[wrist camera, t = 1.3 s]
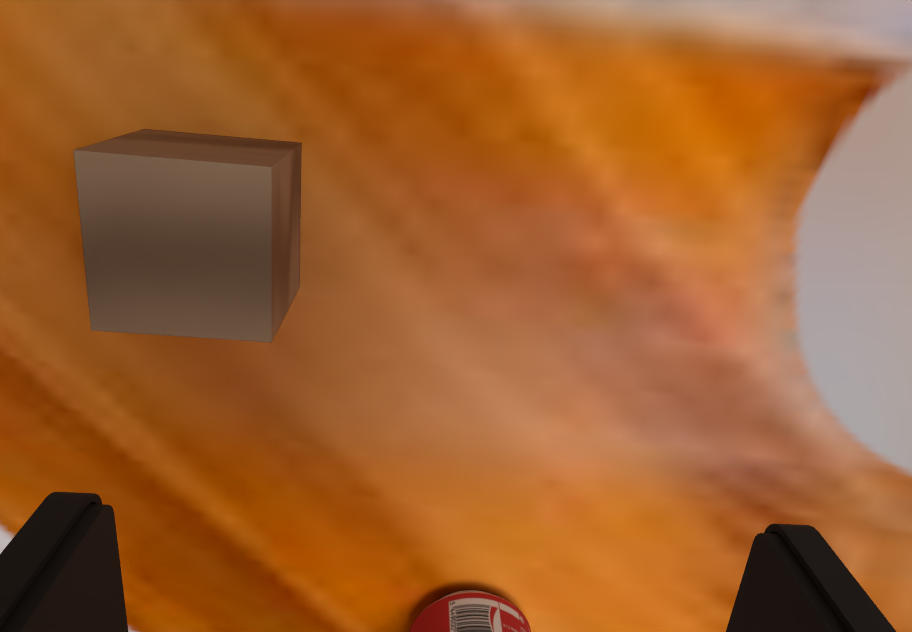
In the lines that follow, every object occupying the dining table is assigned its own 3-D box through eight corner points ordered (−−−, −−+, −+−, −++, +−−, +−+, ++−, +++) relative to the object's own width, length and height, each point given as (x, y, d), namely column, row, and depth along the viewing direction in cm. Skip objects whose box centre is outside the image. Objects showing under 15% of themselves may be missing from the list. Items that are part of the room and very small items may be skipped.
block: (145, 129, 27) (73, 150, 22) (301, 142, 28) (271, 167, 22) (154, 276, 29) (91, 330, 24) (299, 286, 30) (271, 342, 24)
